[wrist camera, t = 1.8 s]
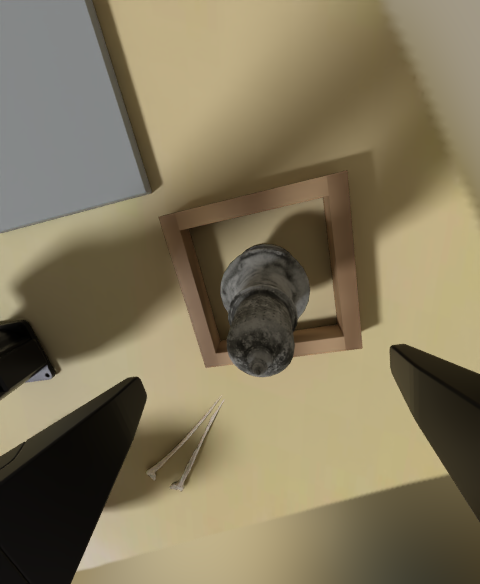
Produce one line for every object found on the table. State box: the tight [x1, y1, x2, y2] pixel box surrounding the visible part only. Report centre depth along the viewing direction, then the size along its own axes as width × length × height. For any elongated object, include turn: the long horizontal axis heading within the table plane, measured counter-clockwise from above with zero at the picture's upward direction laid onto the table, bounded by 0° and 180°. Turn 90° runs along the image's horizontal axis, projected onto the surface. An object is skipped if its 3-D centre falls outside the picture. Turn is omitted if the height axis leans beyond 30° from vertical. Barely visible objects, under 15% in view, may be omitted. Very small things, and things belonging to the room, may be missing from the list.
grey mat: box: [0, 0, 152, 233], centre depth 18 cm, size 14×14×1 cm
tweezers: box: [146, 395, 224, 491], centre depth 27 cm, size 18×5×2 cm, turn 151°
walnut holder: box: [159, 170, 362, 368], centre depth 19 cm, size 12×12×2 cm
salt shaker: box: [221, 244, 310, 377], centre depth 14 cm, size 6×6×12 cm
